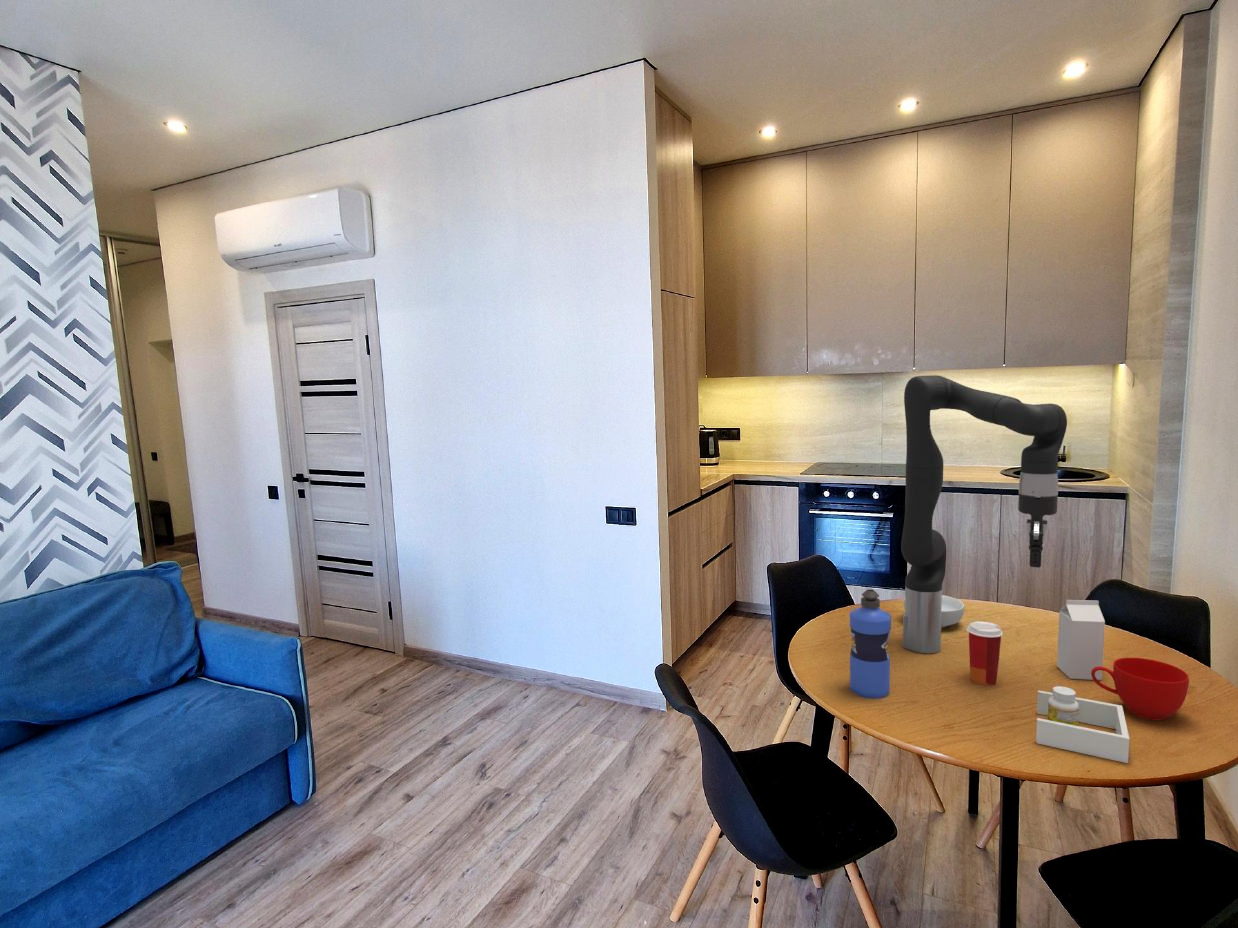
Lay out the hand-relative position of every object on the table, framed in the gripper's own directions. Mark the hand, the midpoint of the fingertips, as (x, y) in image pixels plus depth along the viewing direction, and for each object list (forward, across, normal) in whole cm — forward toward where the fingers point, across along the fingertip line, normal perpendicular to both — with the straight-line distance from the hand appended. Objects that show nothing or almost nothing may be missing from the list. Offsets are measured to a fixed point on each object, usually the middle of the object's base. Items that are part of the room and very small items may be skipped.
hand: (1035, 566), depth 153 cm
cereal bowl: (+31, -39, -26) cm, 56 cm away
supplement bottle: (+31, +17, +6) cm, 36 cm away
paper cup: (+31, -3, -10) cm, 33 cm away
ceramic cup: (+31, -2, +20) cm, 37 cm away
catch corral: (+31, +16, +9) cm, 36 cm away
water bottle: (+31, +15, -33) cm, 48 cm away
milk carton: (+31, -18, +10) cm, 37 cm away
